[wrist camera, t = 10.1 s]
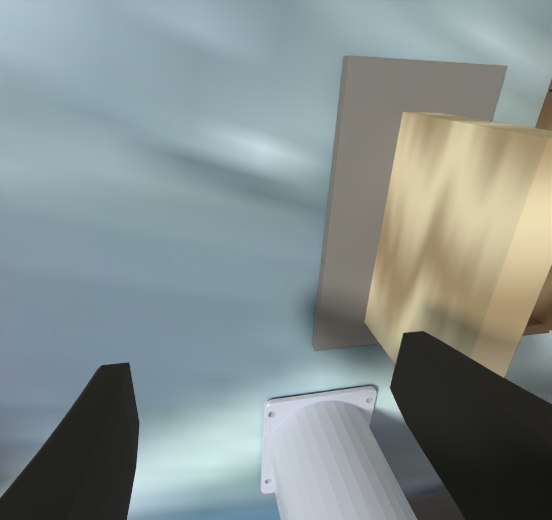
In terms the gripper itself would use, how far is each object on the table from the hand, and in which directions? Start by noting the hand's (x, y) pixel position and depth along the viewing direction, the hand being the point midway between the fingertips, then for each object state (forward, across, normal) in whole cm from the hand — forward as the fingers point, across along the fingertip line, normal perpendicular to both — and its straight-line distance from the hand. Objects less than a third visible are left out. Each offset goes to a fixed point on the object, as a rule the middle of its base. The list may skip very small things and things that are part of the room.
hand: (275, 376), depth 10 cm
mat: (+10, -9, 0) cm, 14 cm away
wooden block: (+10, -9, 0) cm, 13 cm away
